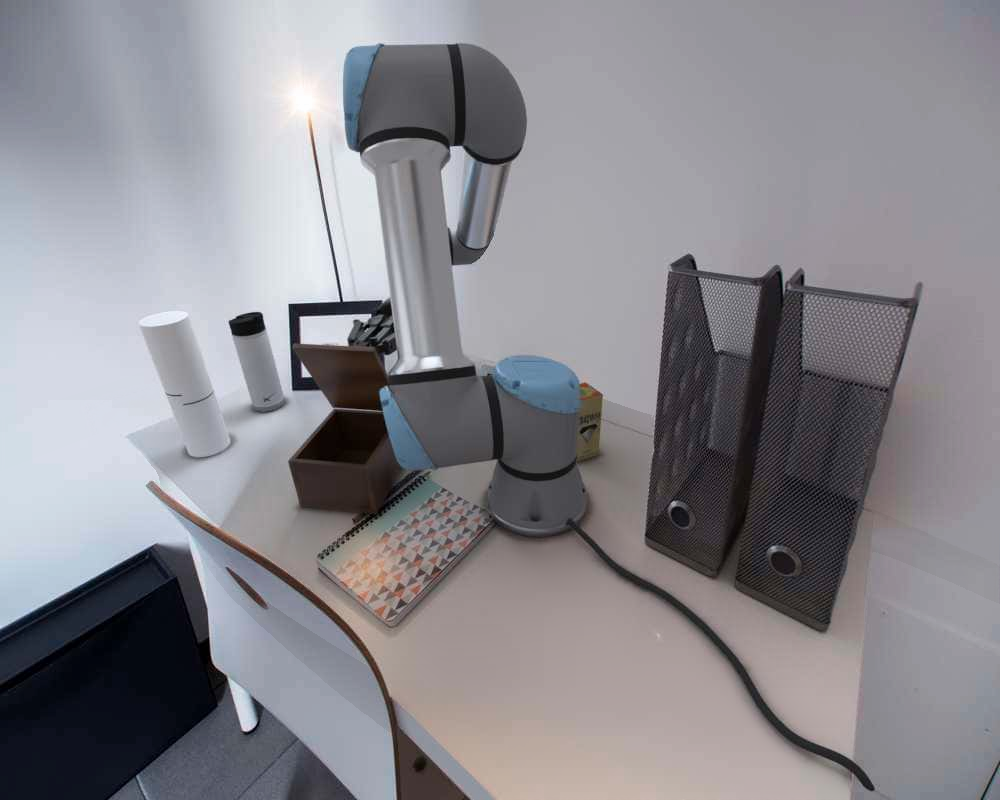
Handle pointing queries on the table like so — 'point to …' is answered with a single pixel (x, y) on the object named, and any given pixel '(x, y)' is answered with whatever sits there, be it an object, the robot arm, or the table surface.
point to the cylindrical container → (185, 381)
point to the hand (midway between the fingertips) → (350, 366)
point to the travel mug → (257, 361)
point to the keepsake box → (346, 463)
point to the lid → (345, 374)
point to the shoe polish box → (589, 422)
